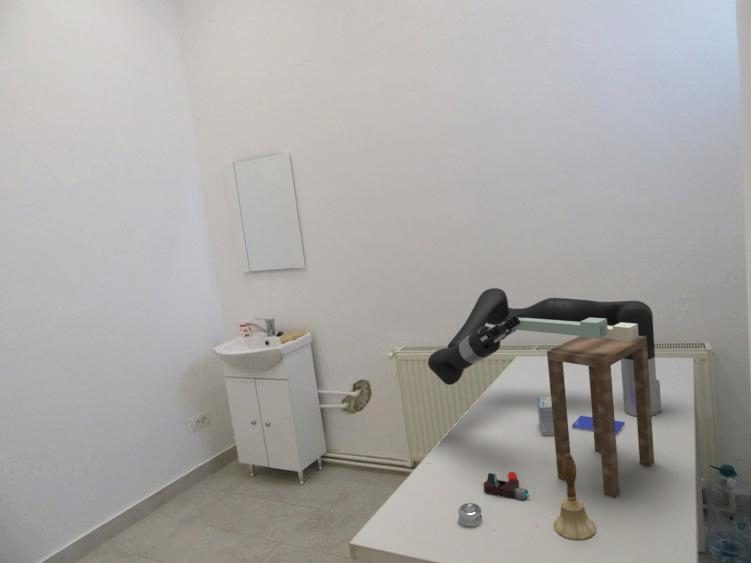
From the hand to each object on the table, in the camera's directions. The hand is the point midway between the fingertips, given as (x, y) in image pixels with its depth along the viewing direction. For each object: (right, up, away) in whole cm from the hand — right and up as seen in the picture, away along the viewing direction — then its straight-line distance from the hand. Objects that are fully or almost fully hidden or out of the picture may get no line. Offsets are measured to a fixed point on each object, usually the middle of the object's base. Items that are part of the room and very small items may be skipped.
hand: (521, 317), depth 131 cm
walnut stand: (+20, -37, -2) cm, 42 cm away
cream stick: (+17, -4, +2) cm, 18 cm away
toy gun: (-4, -41, -4) cm, 41 cm away
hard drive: (+28, -34, +22) cm, 49 cm away
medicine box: (+14, -35, +24) cm, 44 cm away
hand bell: (+5, -42, -22) cm, 48 cm away
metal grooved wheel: (-15, -44, -15) cm, 49 cm away
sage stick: (+6, -3, -7) cm, 9 cm away
